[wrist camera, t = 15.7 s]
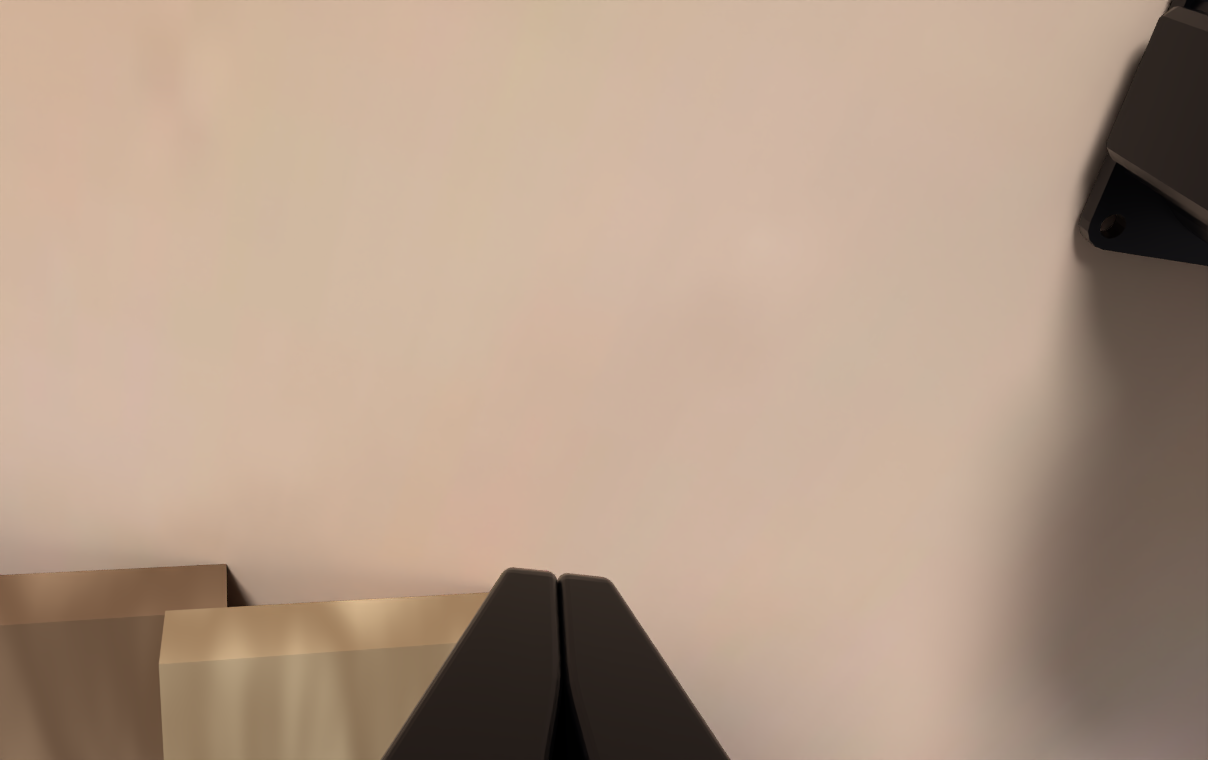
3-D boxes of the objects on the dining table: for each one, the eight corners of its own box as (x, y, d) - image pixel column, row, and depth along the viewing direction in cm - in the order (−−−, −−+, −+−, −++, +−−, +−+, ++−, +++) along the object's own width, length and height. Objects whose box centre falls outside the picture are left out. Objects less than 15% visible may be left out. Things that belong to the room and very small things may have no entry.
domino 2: (530, 637, 24) (158, 664, 21) (503, 779, 26) (166, 819, 24) (517, 590, 25) (165, 610, 22) (492, 730, 27) (172, 762, 25)
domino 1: (227, 610, 23) (-204, 638, 20) (222, 759, 25) (-164, 804, 22) (226, 564, 24) (-179, 584, 21) (221, 710, 27) (-144, 746, 24)
